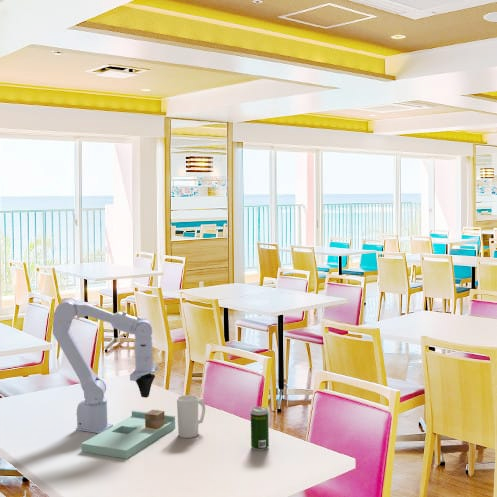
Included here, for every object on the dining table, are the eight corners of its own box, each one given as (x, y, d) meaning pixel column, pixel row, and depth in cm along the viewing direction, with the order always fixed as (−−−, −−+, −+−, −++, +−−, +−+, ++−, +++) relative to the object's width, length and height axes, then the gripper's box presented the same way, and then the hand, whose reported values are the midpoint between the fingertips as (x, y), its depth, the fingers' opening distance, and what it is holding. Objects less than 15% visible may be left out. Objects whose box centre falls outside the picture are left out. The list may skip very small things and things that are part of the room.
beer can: (272, 449, 214) (271, 410, 213) (256, 452, 212) (255, 412, 211) (263, 443, 219) (263, 405, 218) (248, 446, 217) (247, 408, 216)
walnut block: (145, 427, 228) (144, 413, 228) (152, 423, 232) (152, 409, 232) (157, 429, 226) (157, 415, 226) (164, 424, 230) (164, 411, 230)
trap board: (81, 451, 214) (81, 438, 214) (133, 422, 241) (133, 410, 241) (126, 458, 208) (126, 445, 208) (175, 427, 235) (174, 415, 234)
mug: (185, 440, 223) (184, 402, 222) (173, 434, 228) (172, 397, 227) (211, 432, 229) (210, 396, 228) (199, 427, 235) (198, 391, 234)
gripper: (142, 362, 227) (143, 404, 228) (165, 352, 240) (166, 392, 241) (123, 360, 229) (125, 401, 231) (147, 351, 243) (148, 390, 244)
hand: (145, 396), depth 236 cm, fingers closed
